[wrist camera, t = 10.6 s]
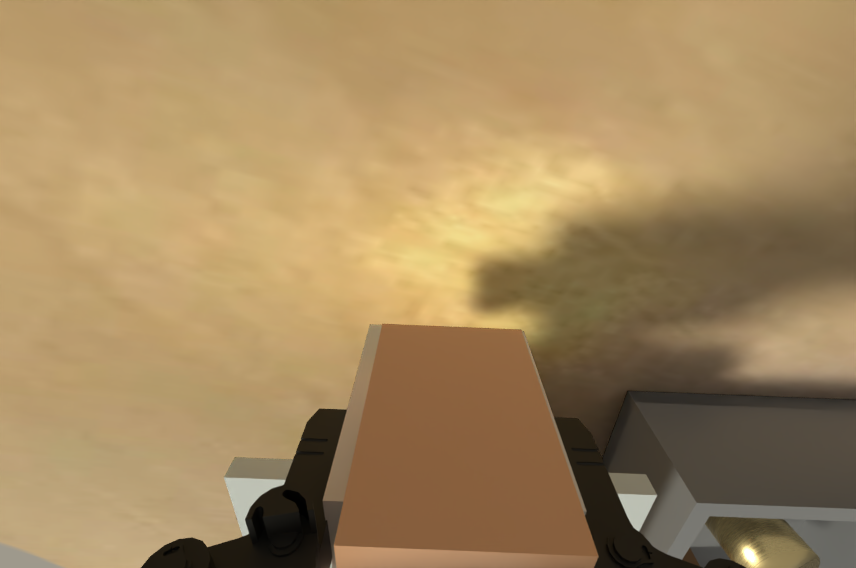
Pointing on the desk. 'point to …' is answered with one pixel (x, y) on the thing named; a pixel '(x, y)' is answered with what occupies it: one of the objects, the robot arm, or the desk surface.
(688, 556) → the walnut part
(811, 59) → the desk surface
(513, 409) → the lid
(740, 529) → the brass part
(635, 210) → the desk surface
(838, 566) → the tub
